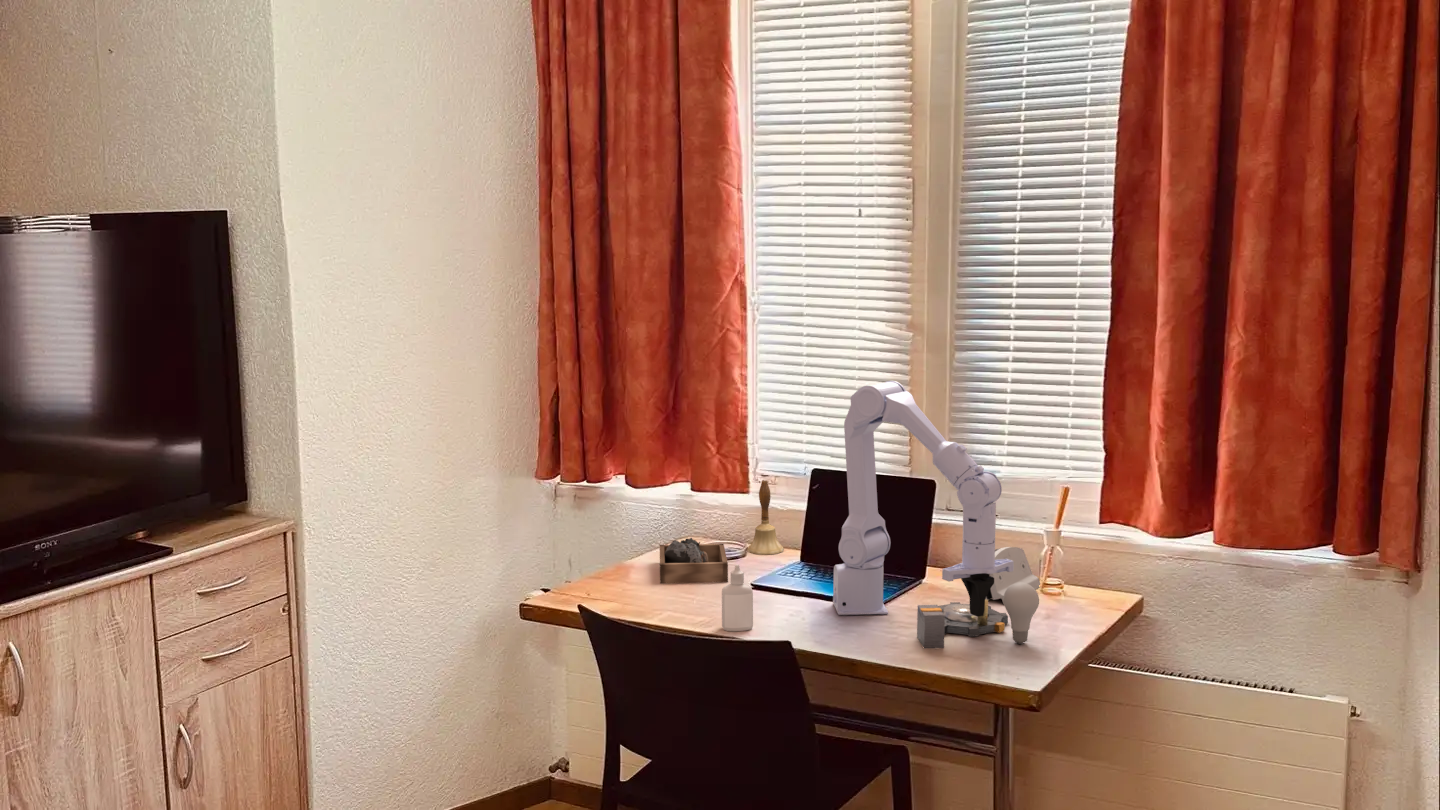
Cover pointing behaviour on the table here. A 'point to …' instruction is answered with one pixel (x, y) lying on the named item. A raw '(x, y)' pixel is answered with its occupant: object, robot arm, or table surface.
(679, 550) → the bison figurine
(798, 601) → the table surface
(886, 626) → the table surface
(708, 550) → the open wooden box
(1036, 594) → the lightbulb
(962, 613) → the hub
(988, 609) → the sprocket
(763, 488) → the hand bell
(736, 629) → the eye dropper bottle
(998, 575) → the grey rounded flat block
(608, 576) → the table surface
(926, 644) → the marked link
